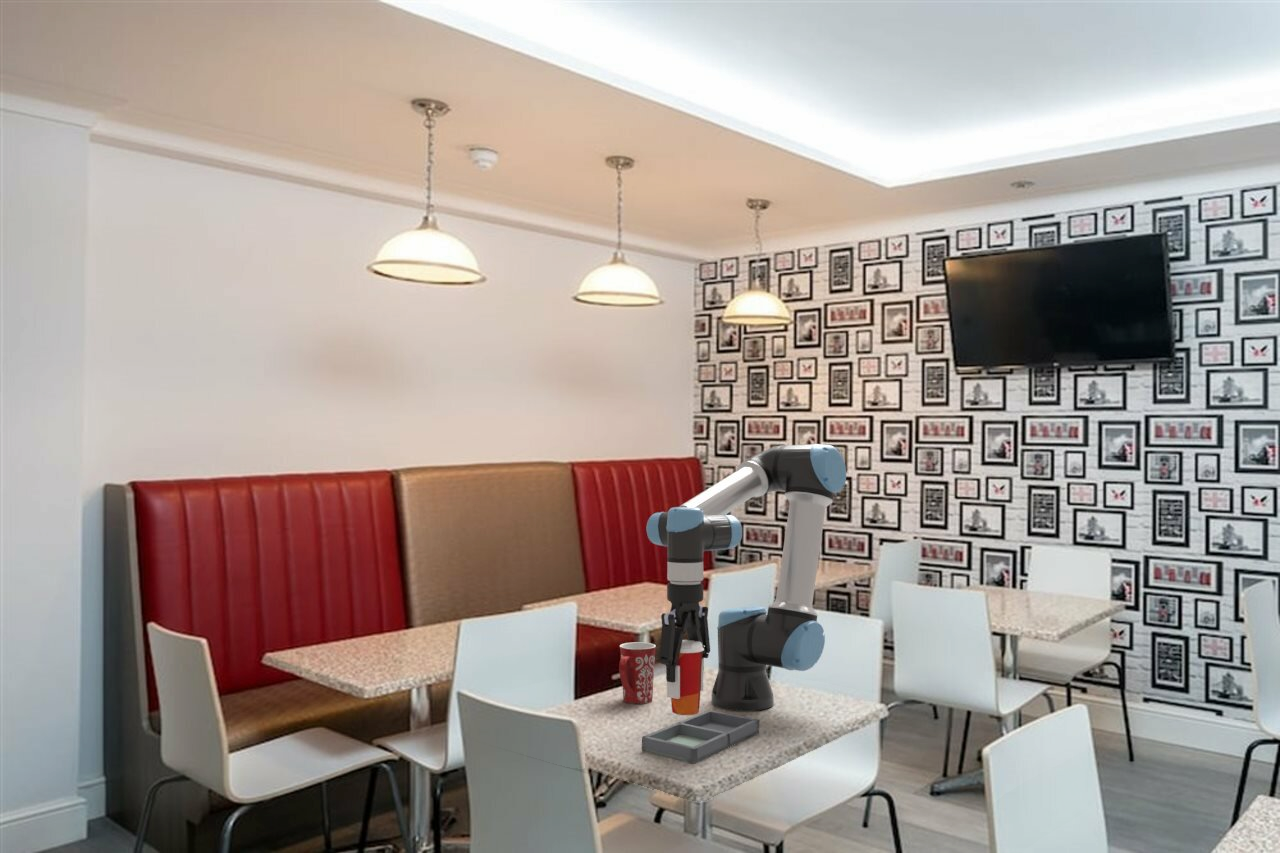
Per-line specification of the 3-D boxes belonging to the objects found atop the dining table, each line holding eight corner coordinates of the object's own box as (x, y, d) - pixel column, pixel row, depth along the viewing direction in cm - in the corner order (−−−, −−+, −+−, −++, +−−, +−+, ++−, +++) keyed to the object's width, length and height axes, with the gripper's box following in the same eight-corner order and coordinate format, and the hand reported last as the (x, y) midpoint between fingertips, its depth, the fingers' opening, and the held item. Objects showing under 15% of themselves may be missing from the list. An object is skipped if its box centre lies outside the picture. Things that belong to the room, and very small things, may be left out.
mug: (631, 693, 226) (631, 640, 227) (662, 698, 221) (662, 643, 222) (604, 705, 215) (604, 649, 216) (636, 710, 210) (636, 653, 211)
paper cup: (677, 704, 187) (677, 637, 188) (710, 709, 183) (710, 641, 184) (659, 713, 181) (659, 644, 181) (693, 718, 177) (693, 647, 177)
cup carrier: (709, 722, 200) (709, 709, 201) (759, 732, 192) (759, 719, 193) (641, 750, 181) (641, 736, 181) (694, 763, 173) (694, 749, 173)
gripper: (698, 575, 194) (698, 681, 193) (640, 585, 178) (640, 700, 176) (727, 578, 189) (727, 686, 188) (670, 588, 173) (670, 707, 172)
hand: (685, 693), depth 182 cm, fingers closed on paper cup, 8 cm apart
